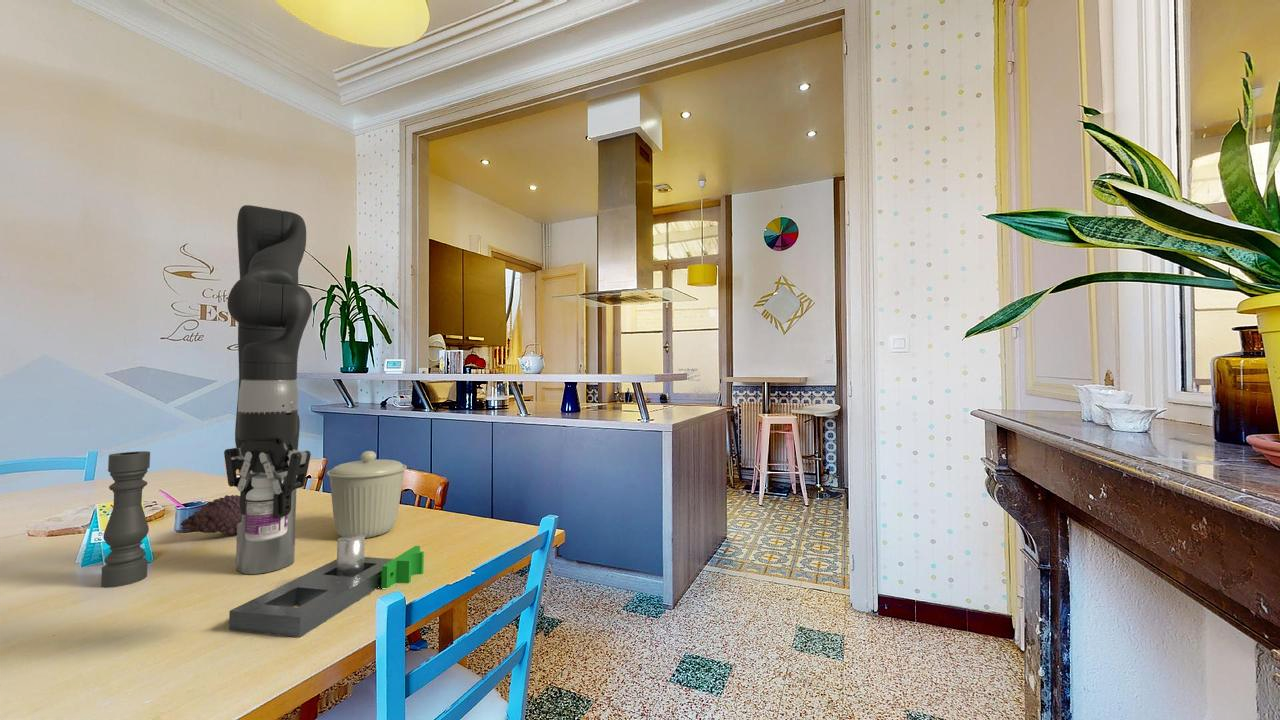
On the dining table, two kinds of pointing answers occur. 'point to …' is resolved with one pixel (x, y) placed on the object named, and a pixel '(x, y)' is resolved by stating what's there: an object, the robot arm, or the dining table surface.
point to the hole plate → (306, 600)
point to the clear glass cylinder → (350, 555)
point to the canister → (366, 495)
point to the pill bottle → (262, 512)
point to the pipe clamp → (403, 567)
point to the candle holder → (126, 520)
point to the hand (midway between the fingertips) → (265, 514)
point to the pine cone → (216, 517)
